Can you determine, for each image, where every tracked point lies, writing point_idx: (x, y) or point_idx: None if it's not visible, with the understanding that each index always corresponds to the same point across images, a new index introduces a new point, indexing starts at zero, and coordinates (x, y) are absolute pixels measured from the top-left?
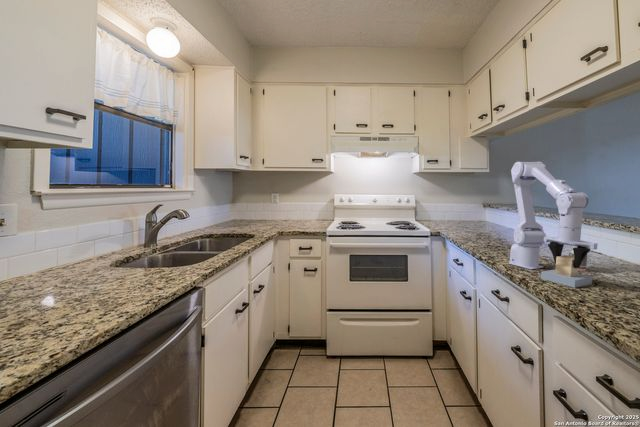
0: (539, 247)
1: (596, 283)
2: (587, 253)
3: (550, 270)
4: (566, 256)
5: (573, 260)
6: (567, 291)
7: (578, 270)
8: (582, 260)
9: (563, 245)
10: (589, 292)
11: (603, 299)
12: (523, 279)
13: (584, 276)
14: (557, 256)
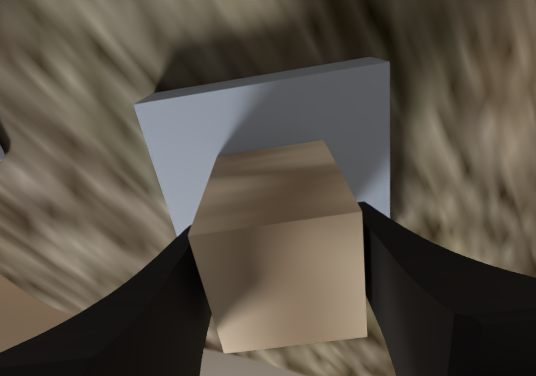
0: None
1: (377, 4)
2: (505, 271)
3: (176, 215)
4: (240, 261)
5: (362, 304)
6: None
7: (331, 155)
8: (407, 231)
9: (106, 356)
10: (448, 241)
11: (523, 273)
12: (206, 347)
13: (360, 123)
14: (222, 342)
